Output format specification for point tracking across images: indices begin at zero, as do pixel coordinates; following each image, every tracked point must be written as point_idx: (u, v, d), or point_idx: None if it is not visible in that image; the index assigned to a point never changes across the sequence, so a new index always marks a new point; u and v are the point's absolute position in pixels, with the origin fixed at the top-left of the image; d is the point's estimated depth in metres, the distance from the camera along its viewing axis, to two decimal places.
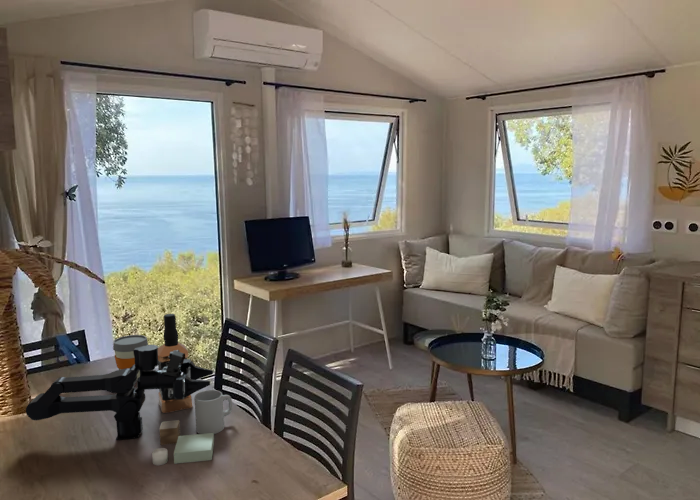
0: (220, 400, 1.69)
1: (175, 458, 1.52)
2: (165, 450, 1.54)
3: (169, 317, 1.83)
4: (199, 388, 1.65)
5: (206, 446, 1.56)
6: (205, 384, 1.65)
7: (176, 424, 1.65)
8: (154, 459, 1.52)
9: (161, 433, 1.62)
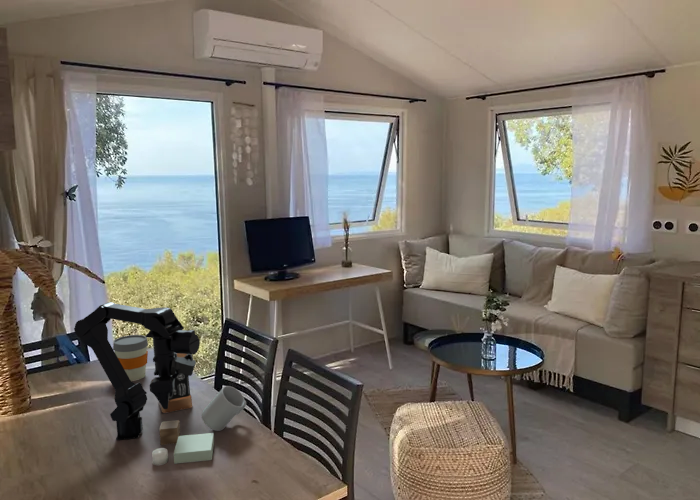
0: (241, 408, 1.69)
1: (175, 458, 1.52)
2: (165, 450, 1.54)
3: None
4: (160, 400, 1.57)
5: (206, 446, 1.56)
6: (164, 405, 1.58)
7: (176, 424, 1.65)
8: (154, 459, 1.52)
9: (161, 433, 1.62)
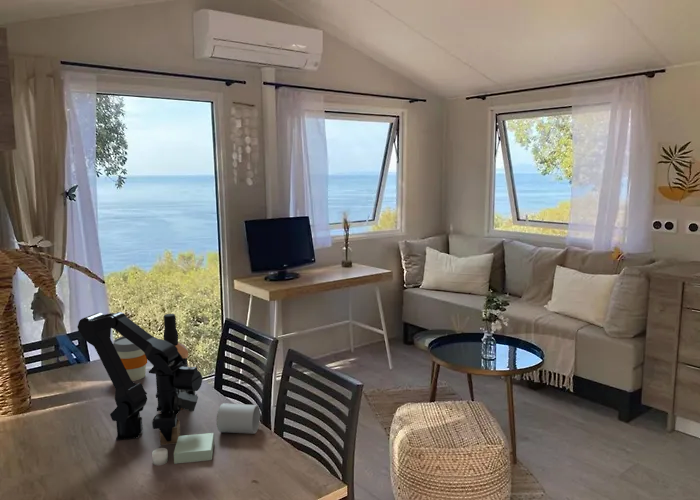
0: None
1: (175, 458, 1.52)
2: (165, 450, 1.54)
3: (169, 317, 1.83)
4: (163, 433, 1.61)
5: (206, 446, 1.56)
6: (167, 438, 1.62)
7: (176, 424, 1.65)
8: (154, 459, 1.52)
9: (161, 433, 1.62)
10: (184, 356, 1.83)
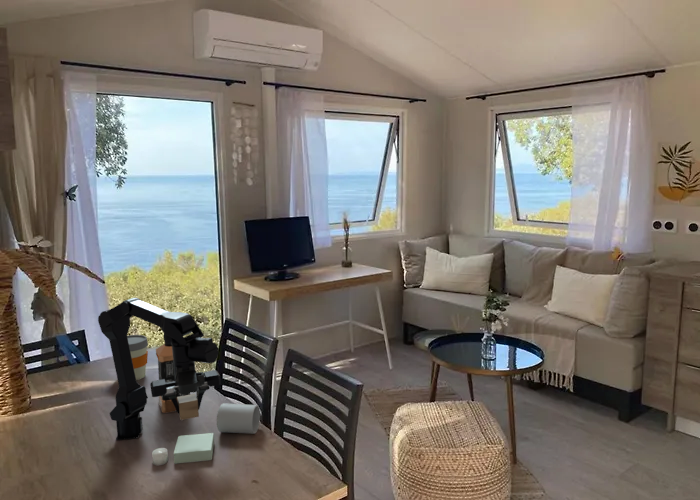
0: None
1: (175, 458, 1.52)
2: (165, 450, 1.54)
3: None
4: None
5: (206, 446, 1.56)
6: (176, 409, 1.56)
7: (187, 401, 1.55)
8: (154, 459, 1.52)
9: None
10: None
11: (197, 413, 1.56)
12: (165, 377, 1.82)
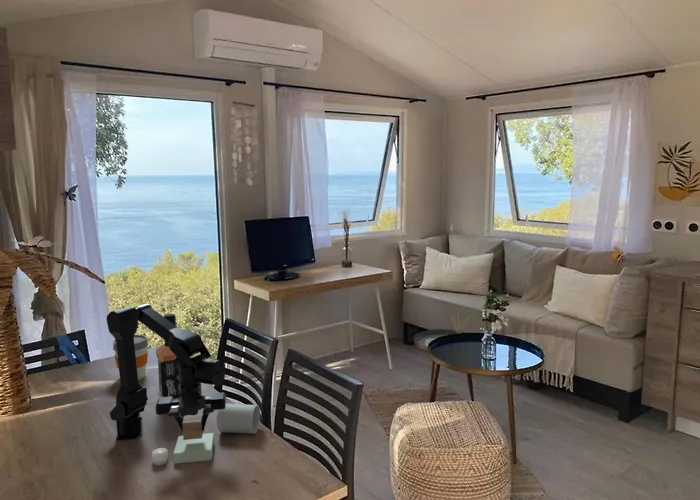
0: None
1: (175, 458, 1.52)
2: (165, 450, 1.54)
3: (169, 317, 1.83)
4: None
5: (206, 446, 1.56)
6: None
7: (190, 421, 1.54)
8: (154, 459, 1.52)
9: None
10: None
11: (200, 435, 1.55)
12: (165, 377, 1.82)
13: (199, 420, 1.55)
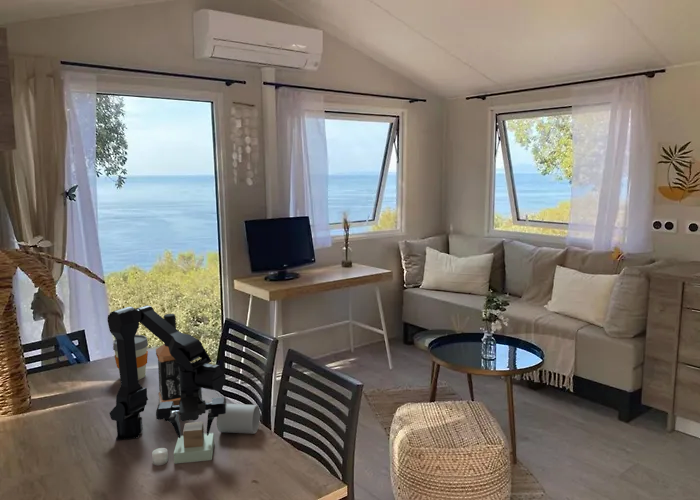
0: None
1: (175, 458, 1.52)
2: (165, 450, 1.54)
3: (169, 317, 1.83)
4: None
5: (206, 446, 1.56)
6: None
7: (191, 429, 1.55)
8: (154, 459, 1.52)
9: None
10: None
11: (201, 443, 1.55)
12: (165, 377, 1.82)
13: (200, 428, 1.55)
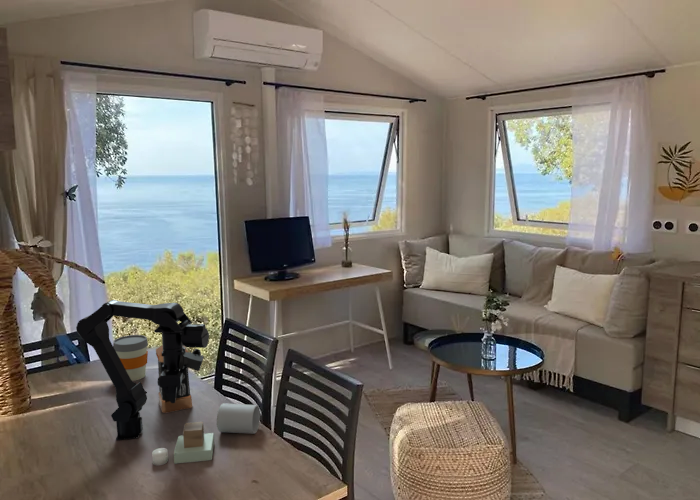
0: None
1: (175, 458, 1.52)
2: (165, 450, 1.54)
3: None
4: (167, 394, 1.59)
5: (206, 446, 1.56)
6: (172, 399, 1.60)
7: (191, 429, 1.55)
8: (154, 459, 1.52)
9: None
10: None
11: (201, 443, 1.55)
12: None
13: (200, 428, 1.55)
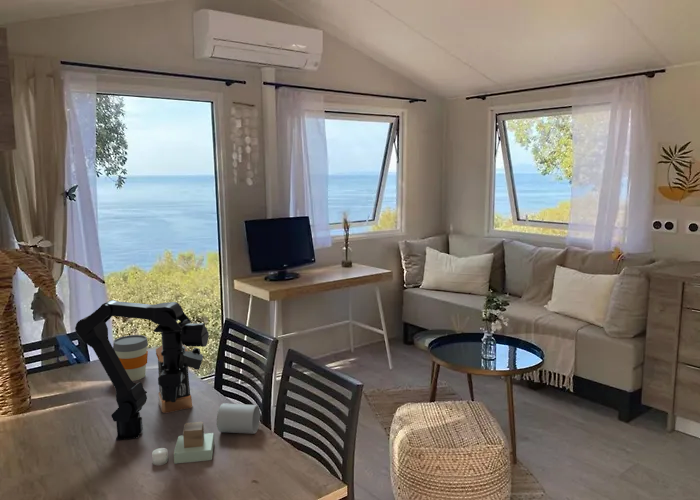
0: None
1: (175, 458, 1.52)
2: (165, 450, 1.54)
3: None
4: (168, 394, 1.59)
5: (206, 446, 1.56)
6: (172, 398, 1.60)
7: (191, 429, 1.55)
8: (154, 459, 1.52)
9: None
10: None
11: (201, 443, 1.55)
12: None
13: (200, 428, 1.55)
